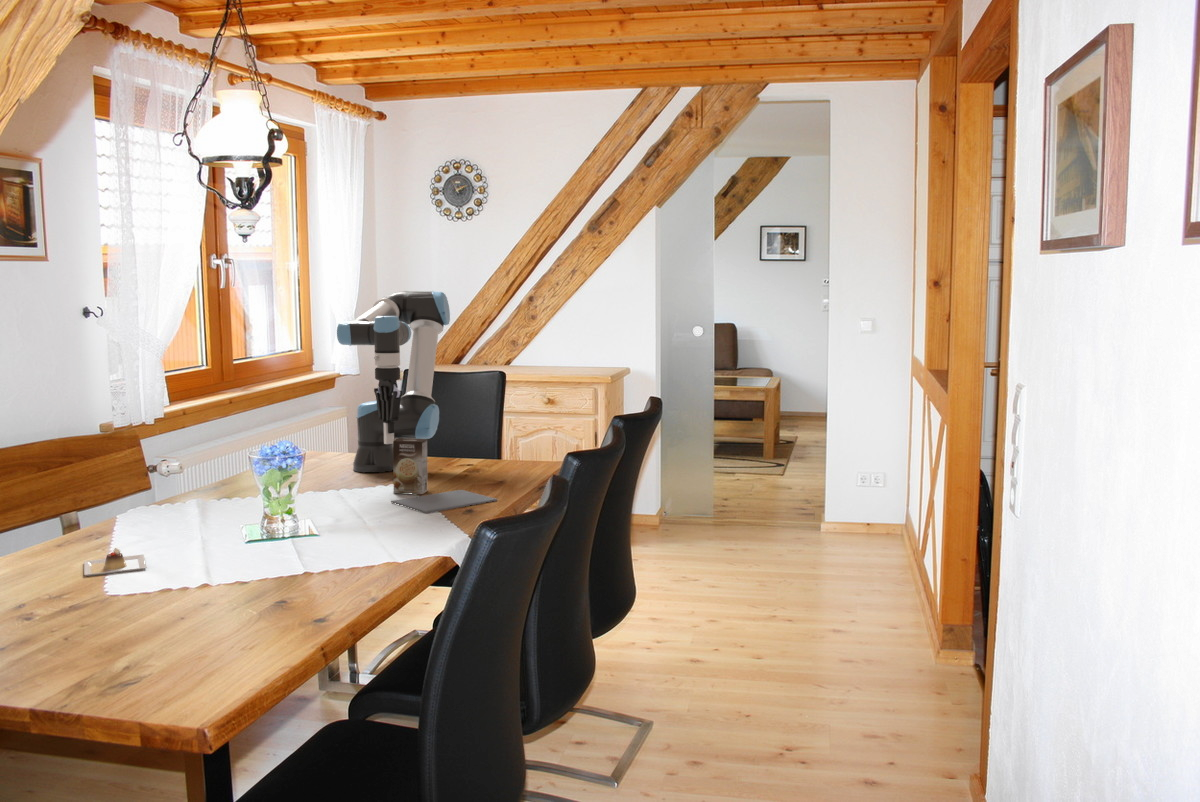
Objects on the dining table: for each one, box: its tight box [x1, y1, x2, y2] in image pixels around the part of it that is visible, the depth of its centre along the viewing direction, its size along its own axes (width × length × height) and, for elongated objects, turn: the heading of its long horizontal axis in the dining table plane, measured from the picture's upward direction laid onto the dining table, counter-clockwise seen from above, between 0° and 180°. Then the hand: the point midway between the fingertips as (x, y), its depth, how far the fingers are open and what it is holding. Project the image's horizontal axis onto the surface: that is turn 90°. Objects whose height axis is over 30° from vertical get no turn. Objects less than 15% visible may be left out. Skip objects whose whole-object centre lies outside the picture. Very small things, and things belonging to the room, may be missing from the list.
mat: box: [390, 489, 498, 514], centre depth 283 cm, size 18×24×1 cm
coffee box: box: [392, 438, 428, 495], centre depth 295 cm, size 9×6×16 cm
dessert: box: [83, 547, 147, 577], centre depth 216 cm, size 12×12×5 cm
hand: (389, 443), depth 303 cm, fingers closed
